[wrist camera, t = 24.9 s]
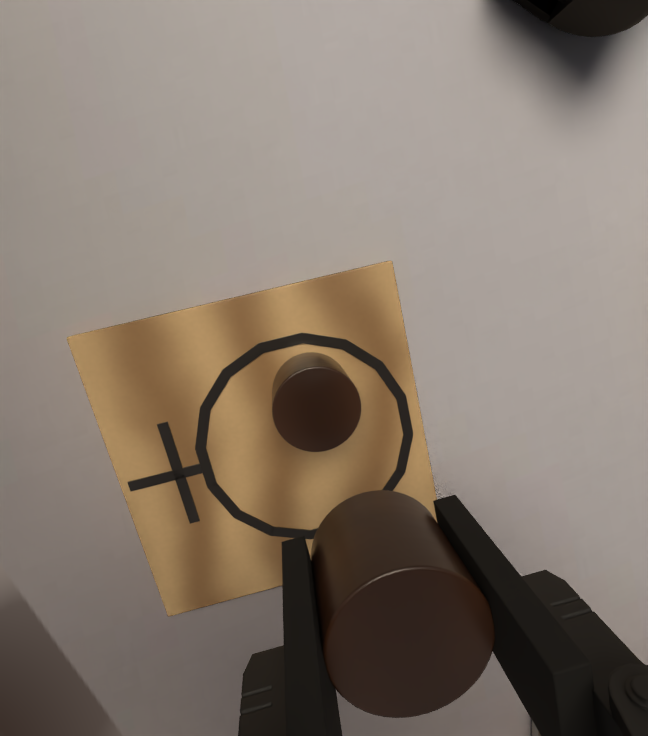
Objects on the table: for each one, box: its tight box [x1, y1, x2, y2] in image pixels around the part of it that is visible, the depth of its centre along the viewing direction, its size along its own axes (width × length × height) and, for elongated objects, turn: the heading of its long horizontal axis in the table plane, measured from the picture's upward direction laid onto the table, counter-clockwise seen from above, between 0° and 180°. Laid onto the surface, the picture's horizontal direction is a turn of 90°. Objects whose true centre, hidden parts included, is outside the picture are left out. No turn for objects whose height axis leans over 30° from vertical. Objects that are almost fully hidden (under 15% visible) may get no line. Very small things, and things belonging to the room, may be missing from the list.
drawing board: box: [67, 261, 437, 616], centre depth 27 cm, size 18×18×1 cm
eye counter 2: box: [272, 352, 361, 452], centre depth 24 cm, size 4×4×4 cm
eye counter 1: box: [311, 490, 495, 718], centre depth 13 cm, size 4×4×4 cm
